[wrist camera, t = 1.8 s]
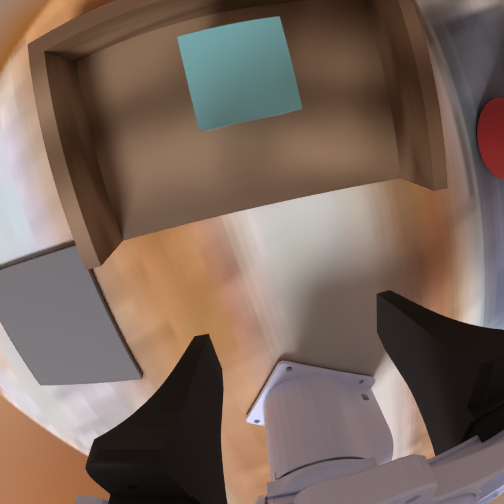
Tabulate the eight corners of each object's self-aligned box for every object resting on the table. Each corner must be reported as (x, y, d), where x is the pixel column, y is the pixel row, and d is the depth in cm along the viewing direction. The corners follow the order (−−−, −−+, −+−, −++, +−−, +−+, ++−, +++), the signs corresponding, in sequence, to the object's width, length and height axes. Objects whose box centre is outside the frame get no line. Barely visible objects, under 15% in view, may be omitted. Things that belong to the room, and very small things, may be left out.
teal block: (280, 115, 17) (302, 108, 11) (210, 130, 17) (199, 130, 11) (264, 50, 15) (279, 16, 10) (194, 65, 15) (177, 36, 10)
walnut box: (408, 174, 19) (447, 188, 15) (112, 240, 20) (86, 270, 15) (369, -10, 14) (399, -35, 10) (64, 56, 15) (27, 44, 10)
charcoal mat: (80, 242, 19) (78, 245, 19) (143, 375, 24) (142, 379, 24) (-19, 275, 20) (-22, 277, 19) (41, 382, 24) (40, 385, 24)
